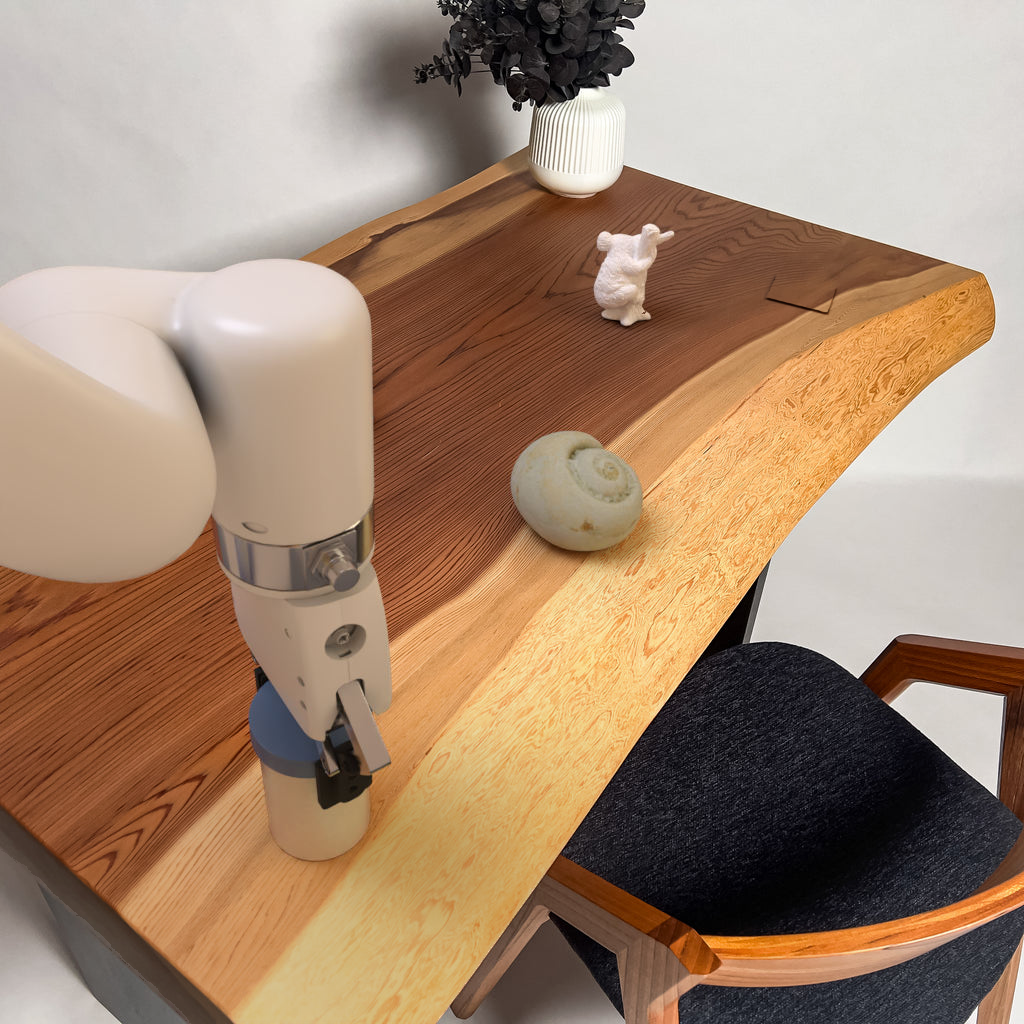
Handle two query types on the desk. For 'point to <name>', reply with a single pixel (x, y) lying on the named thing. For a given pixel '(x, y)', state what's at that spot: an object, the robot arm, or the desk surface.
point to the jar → (312, 818)
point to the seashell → (576, 492)
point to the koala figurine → (626, 272)
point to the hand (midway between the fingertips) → (314, 745)
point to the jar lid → (284, 736)
